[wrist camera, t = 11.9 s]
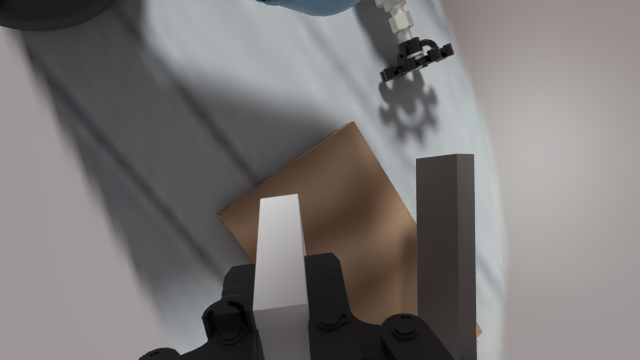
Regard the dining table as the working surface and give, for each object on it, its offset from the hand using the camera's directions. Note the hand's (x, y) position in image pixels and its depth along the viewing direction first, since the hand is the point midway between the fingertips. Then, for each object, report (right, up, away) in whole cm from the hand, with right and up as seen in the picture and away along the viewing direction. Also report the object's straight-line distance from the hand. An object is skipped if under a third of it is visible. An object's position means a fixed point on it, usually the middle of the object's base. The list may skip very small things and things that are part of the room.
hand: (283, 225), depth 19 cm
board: (+5, -7, +23) cm, 25 cm away
